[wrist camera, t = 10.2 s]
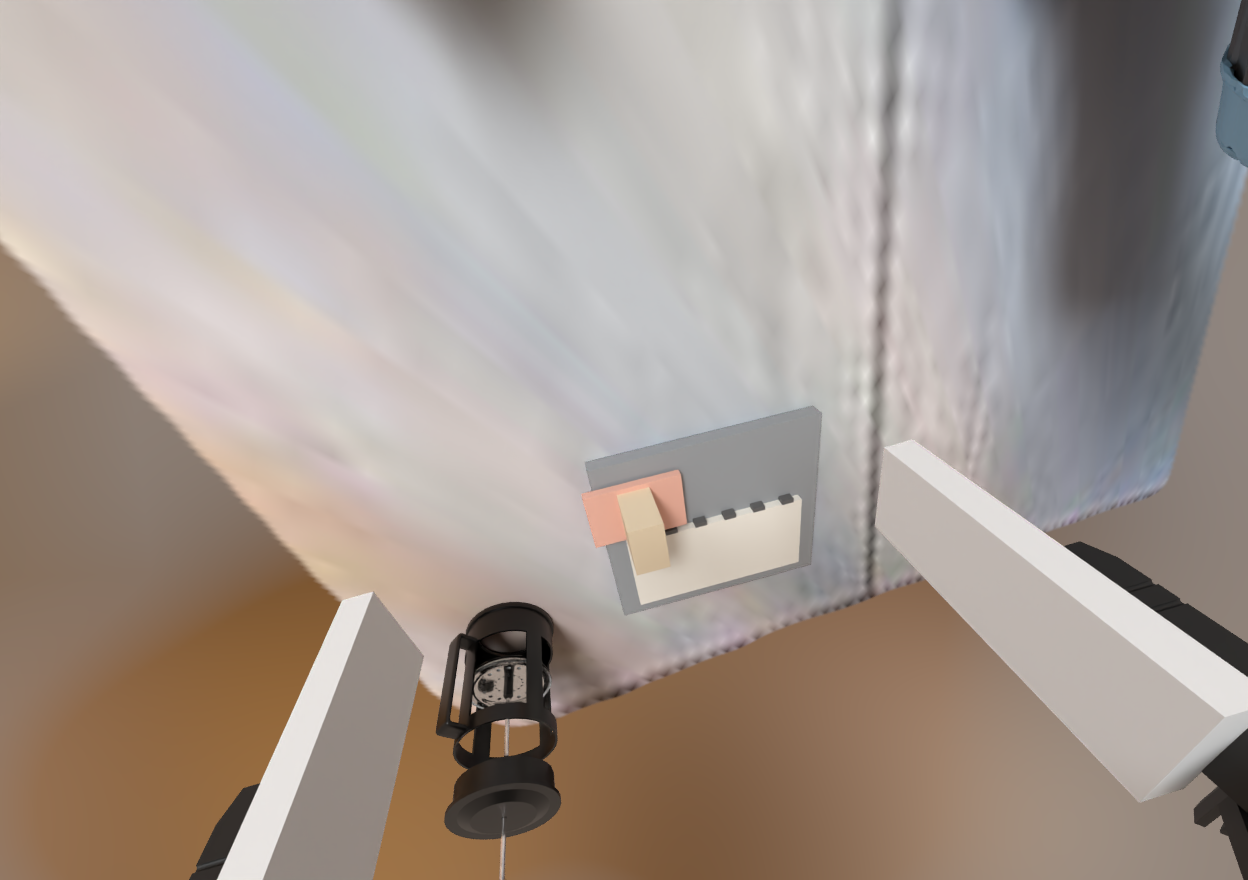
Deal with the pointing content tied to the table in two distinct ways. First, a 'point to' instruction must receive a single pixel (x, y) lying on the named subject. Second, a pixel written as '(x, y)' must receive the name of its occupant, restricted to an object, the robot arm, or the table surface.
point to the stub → (638, 517)
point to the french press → (505, 689)
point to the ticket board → (724, 506)
